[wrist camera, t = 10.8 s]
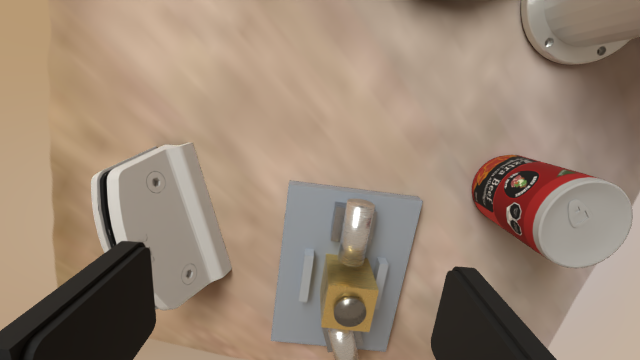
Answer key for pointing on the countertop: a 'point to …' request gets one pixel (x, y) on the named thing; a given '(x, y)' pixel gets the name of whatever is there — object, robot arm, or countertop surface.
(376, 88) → the countertop surface
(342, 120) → the countertop surface
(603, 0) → the robot arm
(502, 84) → the countertop surface
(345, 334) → the shaft
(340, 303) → the coupler
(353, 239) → the shaft
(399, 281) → the board
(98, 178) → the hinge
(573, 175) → the canned food
